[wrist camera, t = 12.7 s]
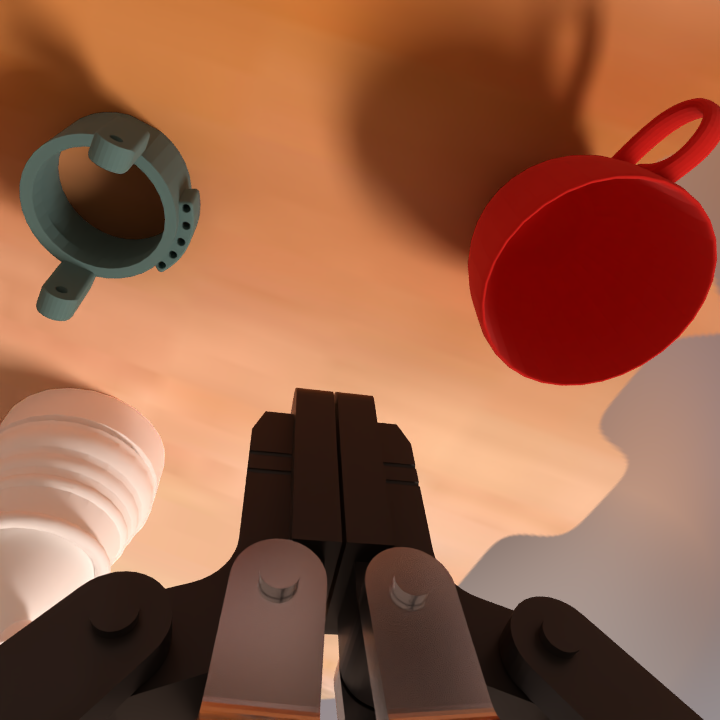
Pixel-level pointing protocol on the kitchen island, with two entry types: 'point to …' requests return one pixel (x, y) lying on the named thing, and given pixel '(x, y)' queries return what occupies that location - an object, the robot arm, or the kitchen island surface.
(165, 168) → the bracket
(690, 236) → the ceramic cup
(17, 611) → the honey pot
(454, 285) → the kitchen island surface
